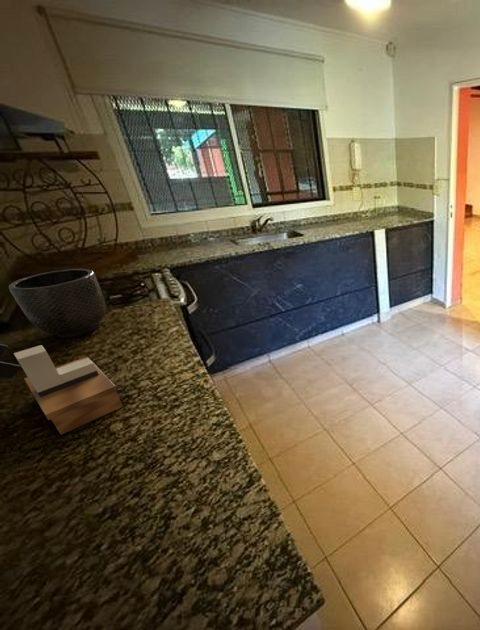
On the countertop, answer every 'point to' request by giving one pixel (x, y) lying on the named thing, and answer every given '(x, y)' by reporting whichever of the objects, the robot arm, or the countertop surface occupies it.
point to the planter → (61, 301)
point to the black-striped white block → (52, 371)
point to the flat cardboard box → (79, 401)
